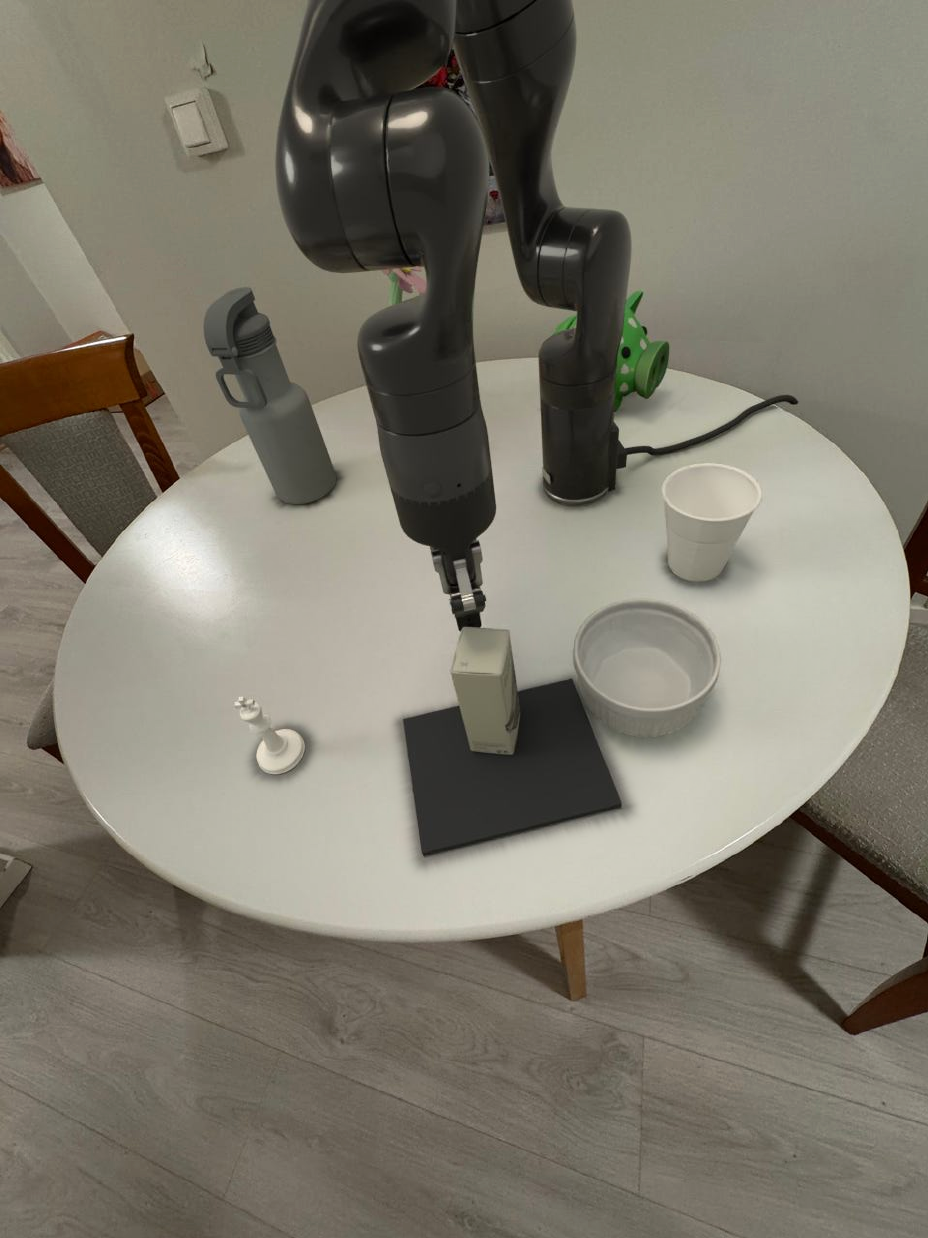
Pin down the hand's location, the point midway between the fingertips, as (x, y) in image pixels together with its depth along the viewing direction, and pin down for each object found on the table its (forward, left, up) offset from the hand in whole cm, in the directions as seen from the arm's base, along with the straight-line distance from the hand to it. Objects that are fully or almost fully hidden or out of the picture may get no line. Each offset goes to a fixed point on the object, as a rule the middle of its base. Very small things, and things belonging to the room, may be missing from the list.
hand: (469, 624), depth 54 cm
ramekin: (-15, +5, -11) cm, 19 cm away
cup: (-28, -10, -11) cm, 32 cm away
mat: (0, +9, -10) cm, 14 cm away
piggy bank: (-31, -51, -11) cm, 61 cm away
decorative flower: (-2, -55, -11) cm, 56 cm away
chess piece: (+22, +2, -11) cm, 24 cm away
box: (0, +6, -10) cm, 11 cm away
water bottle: (+19, -45, -11) cm, 50 cm away
